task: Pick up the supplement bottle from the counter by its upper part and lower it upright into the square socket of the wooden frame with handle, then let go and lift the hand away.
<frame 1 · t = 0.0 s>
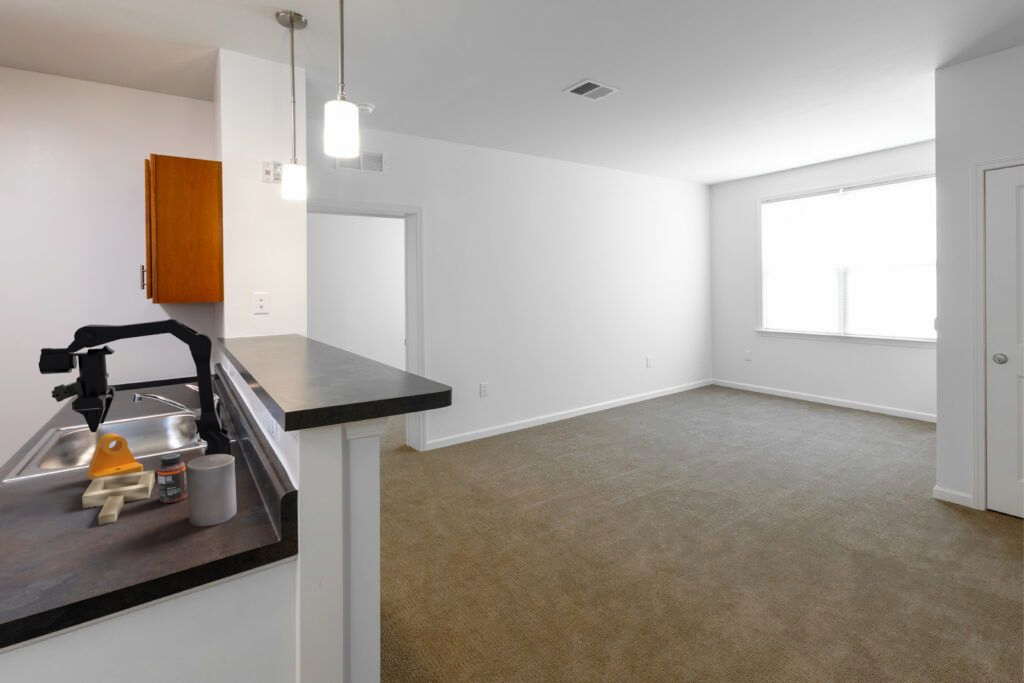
hand: (97, 427, 137), 15 cm above the counter, tool pointing down, fingers open, 9 cm apart
supplement bottle: (173, 499, 127), on the counter
pillar candle: (214, 517, 118), on the counter
wooden frame with handle: (121, 493, 130), on the counter
bracket: (117, 478, 141), on the counter
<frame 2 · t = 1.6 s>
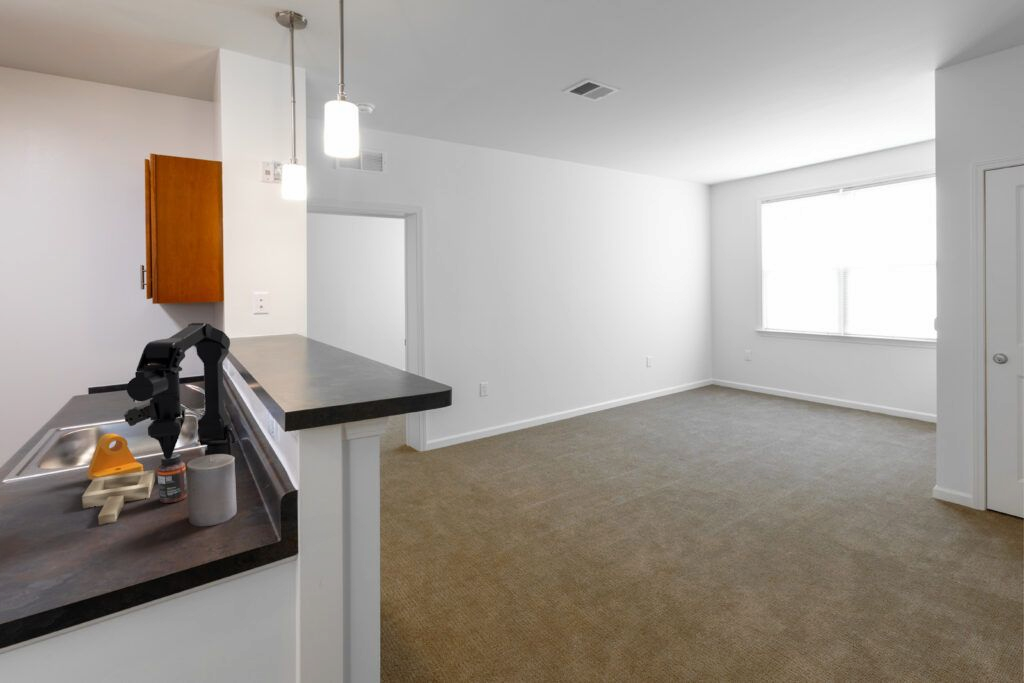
hand: (170, 453, 126), 12 cm above the counter, tool pointing down, fingers open, 9 cm apart
nothing on the counter moved.
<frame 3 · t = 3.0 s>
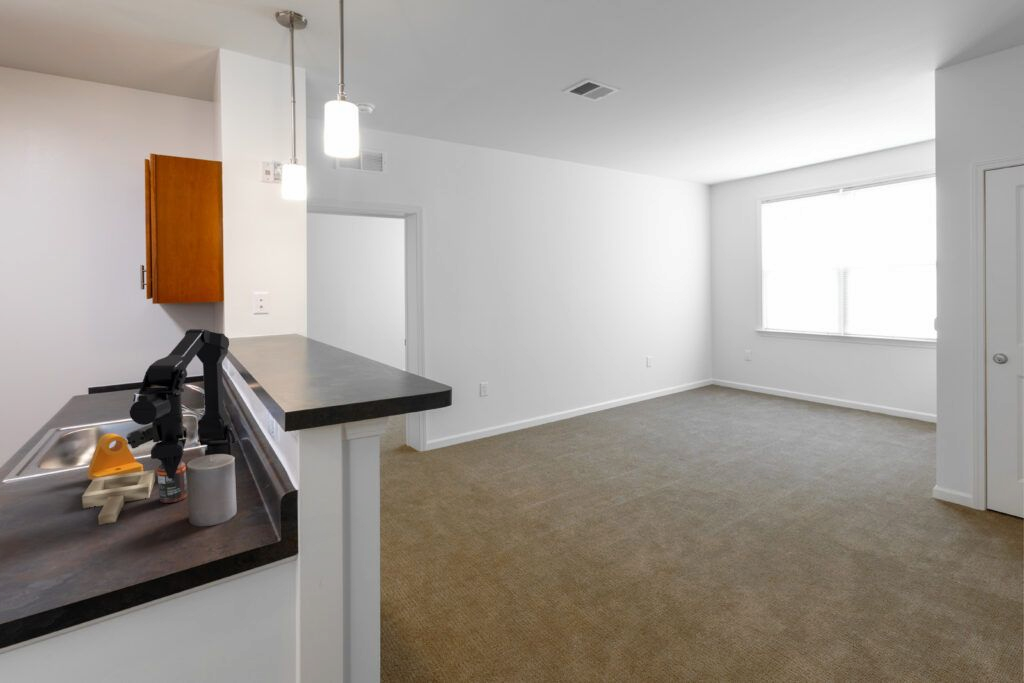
hand: (172, 474, 127), 7 cm above the counter, tool pointing down, fingers closed on supplement bottle, 6 cm apart
supplement bottle: (173, 499, 127), on the counter, touching gripper
everything else where it was.
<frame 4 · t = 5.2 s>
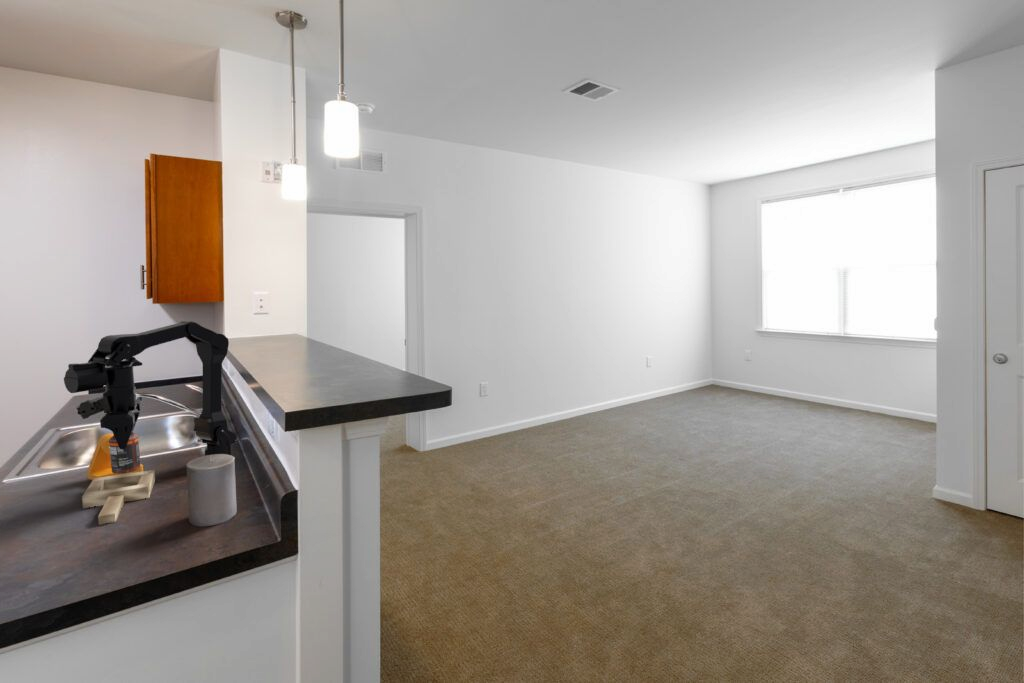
hand: (124, 445, 128), 13 cm above the counter, tool pointing down, fingers closed on supplement bottle, 6 cm apart
supplement bottle: (126, 471, 129), point 6 cm above the counter, touching gripper
everything else where it was.
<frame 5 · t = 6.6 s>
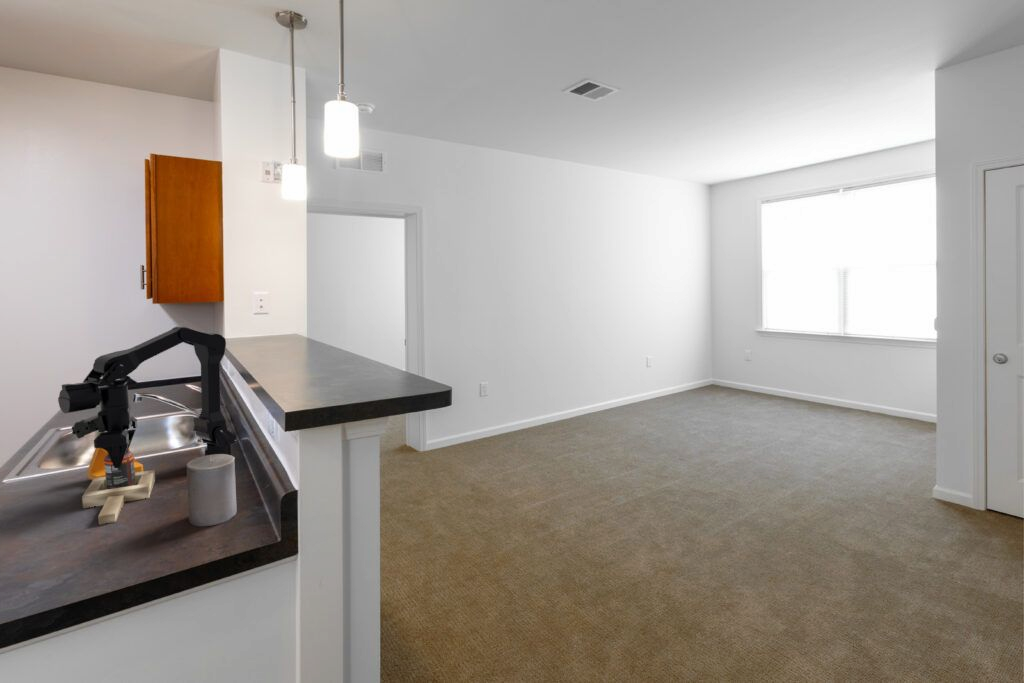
hand: (119, 463, 129), 8 cm above the counter, tool pointing down, fingers closed on supplement bottle, 6 cm apart
supplement bottle: (121, 488, 130), point 1 cm above the counter, touching gripper
everything else where it was.
when the fingers open (8 cm above the counter, at t = 7.7 s): supplement bottle drops 1 cm, resting in wooden frame with handle.
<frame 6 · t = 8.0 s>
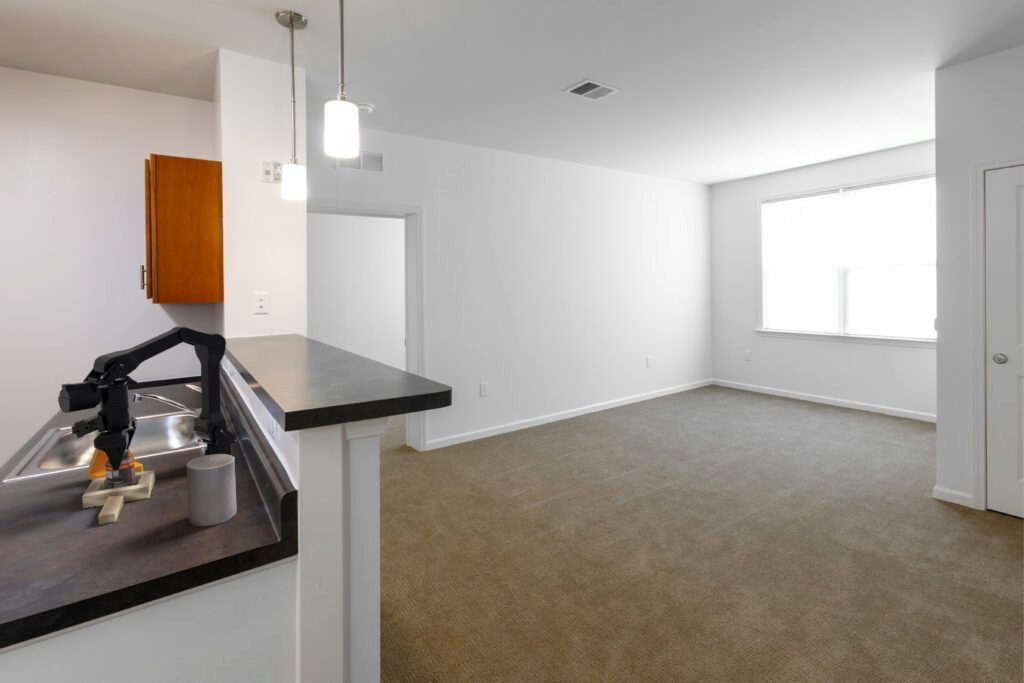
hand: (119, 463, 129), 8 cm above the counter, tool pointing down, fingers open, 9 cm apart
supplement bottle: (122, 494, 130), resting in wooden frame with handle
everything else where it was.
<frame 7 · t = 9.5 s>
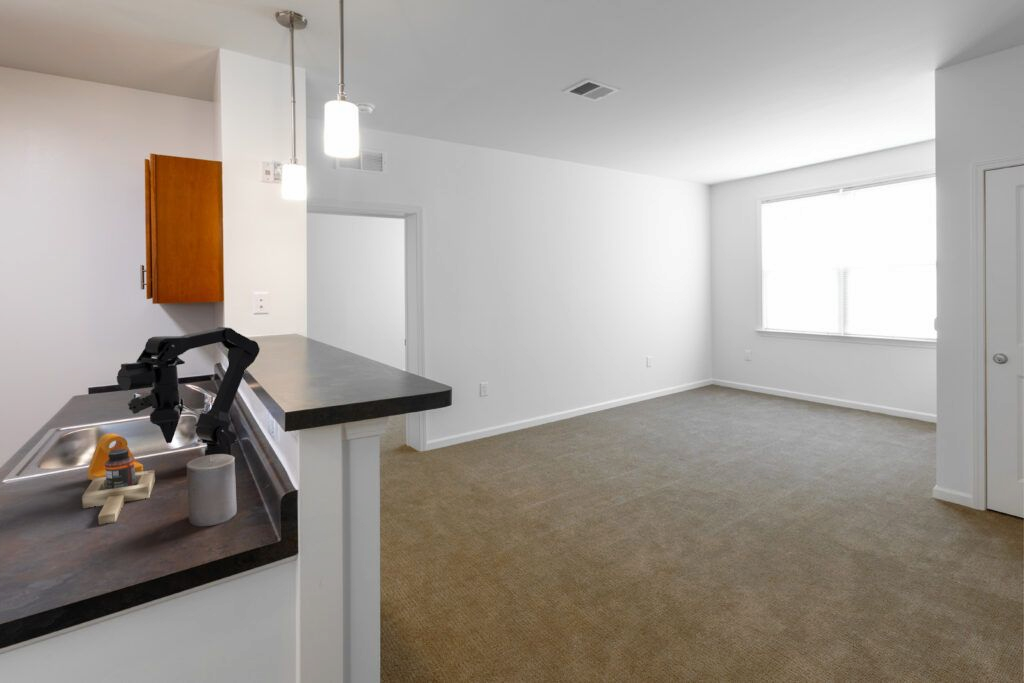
hand: (170, 437, 139), 12 cm above the counter, tool pointing down, fingers open, 9 cm apart
nothing on the counter moved.
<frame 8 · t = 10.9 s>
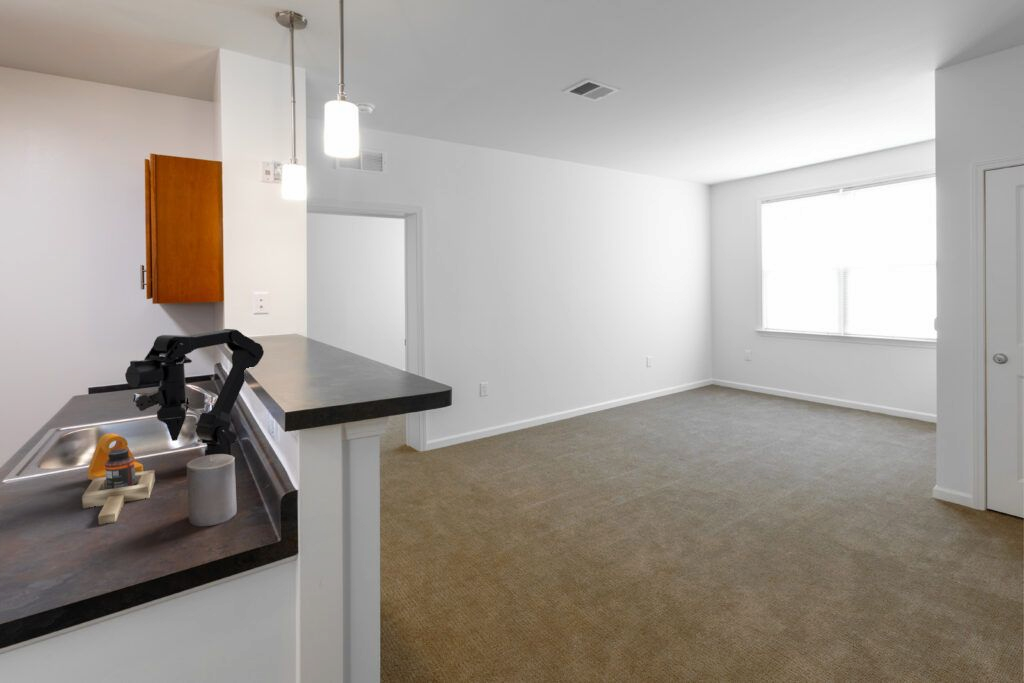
hand: (176, 435, 140), 12 cm above the counter, tool pointing down, fingers open, 9 cm apart
nothing on the counter moved.
at the end: supplement bottle 0.1 cm off-centre on the wooden frame with handle, point 0.0 cm above the wooden frame with handle's base; supplement bottle tilted 0°; the gripper is holding nothing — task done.
